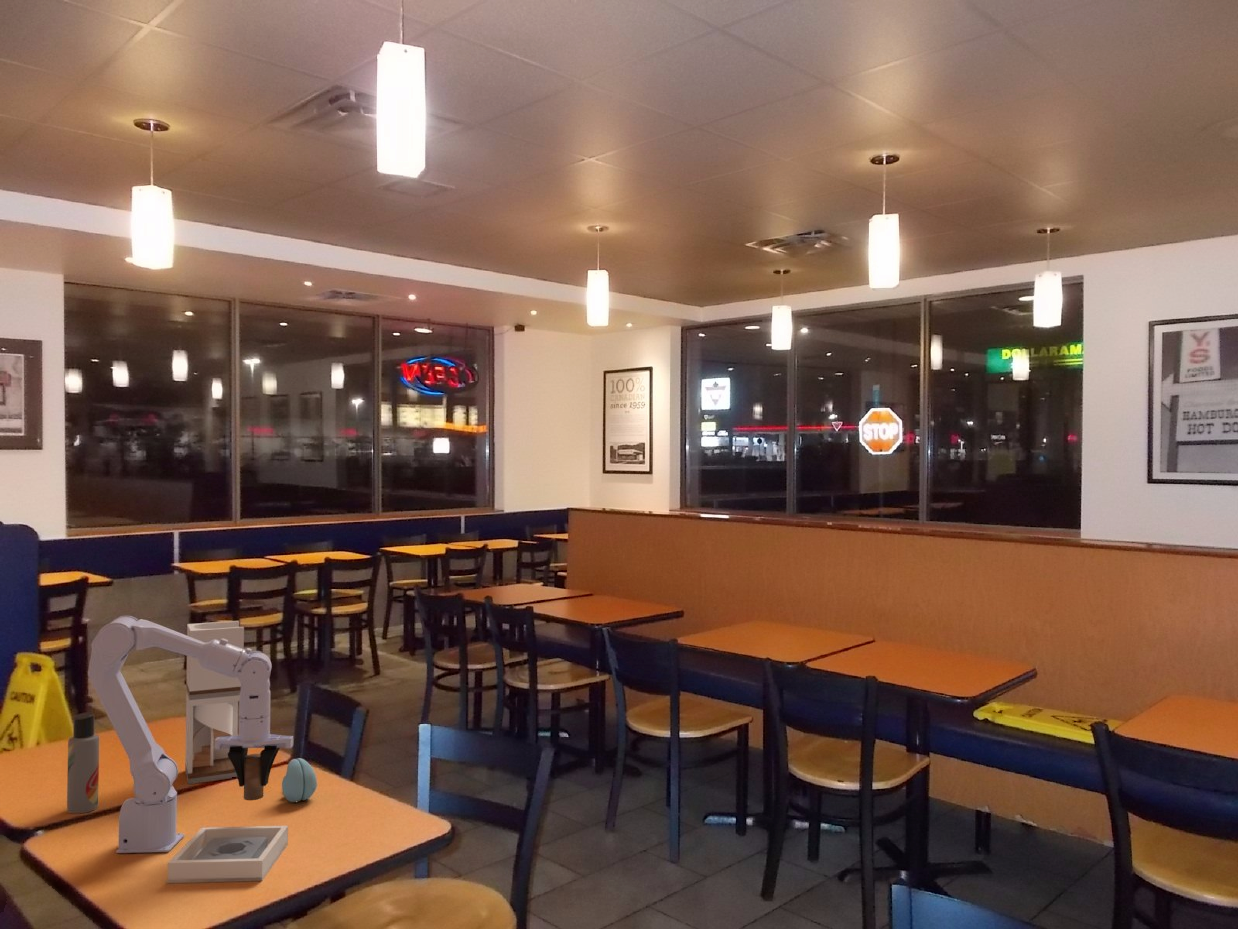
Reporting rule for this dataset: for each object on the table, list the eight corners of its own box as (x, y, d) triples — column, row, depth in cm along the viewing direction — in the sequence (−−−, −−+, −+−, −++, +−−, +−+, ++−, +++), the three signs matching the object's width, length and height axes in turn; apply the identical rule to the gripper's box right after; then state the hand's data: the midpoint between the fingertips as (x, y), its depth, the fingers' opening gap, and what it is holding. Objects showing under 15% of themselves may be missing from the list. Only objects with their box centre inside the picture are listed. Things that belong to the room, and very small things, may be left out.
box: (167, 883, 158) (167, 863, 158) (202, 846, 174) (202, 827, 174) (262, 880, 160) (262, 860, 160) (287, 844, 176) (288, 825, 176)
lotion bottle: (104, 805, 195) (105, 711, 195) (86, 815, 190) (87, 718, 190) (79, 804, 196) (80, 710, 196) (60, 813, 190) (62, 717, 190)
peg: (241, 800, 178) (241, 759, 178) (247, 794, 181) (247, 753, 182) (260, 800, 178) (260, 759, 178) (265, 793, 182) (266, 753, 182)
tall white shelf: (188, 784, 209) (190, 630, 209) (185, 771, 218) (187, 624, 218) (241, 776, 214) (244, 627, 215) (236, 764, 223) (238, 620, 224)
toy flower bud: (302, 750, 208) (320, 759, 199) (303, 790, 208) (321, 801, 198) (270, 756, 204) (287, 765, 194) (270, 796, 203) (287, 808, 194)
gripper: (209, 721, 175) (208, 792, 175) (286, 720, 177) (285, 791, 176) (222, 712, 182) (221, 780, 182) (296, 711, 184) (295, 778, 183)
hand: (253, 784), depth 180 cm, fingers closed on peg, 4 cm apart
